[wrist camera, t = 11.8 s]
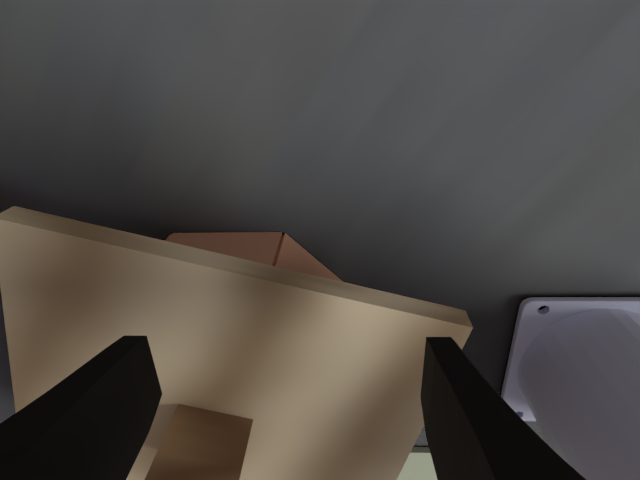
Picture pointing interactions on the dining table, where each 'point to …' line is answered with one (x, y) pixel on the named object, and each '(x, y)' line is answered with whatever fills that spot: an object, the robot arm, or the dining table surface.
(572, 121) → the dining table surface
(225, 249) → the bowl
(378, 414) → the cover board
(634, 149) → the dining table surface
